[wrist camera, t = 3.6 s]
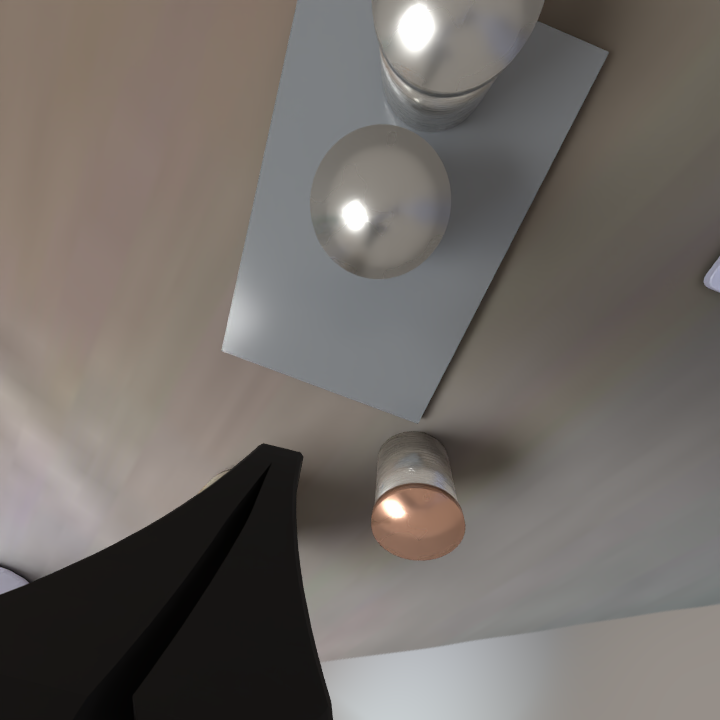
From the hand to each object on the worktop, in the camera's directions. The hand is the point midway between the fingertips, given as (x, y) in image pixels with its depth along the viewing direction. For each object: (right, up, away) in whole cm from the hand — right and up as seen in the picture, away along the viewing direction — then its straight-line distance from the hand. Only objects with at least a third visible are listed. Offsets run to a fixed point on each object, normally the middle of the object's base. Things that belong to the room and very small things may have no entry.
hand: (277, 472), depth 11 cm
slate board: (+4, +10, +6) cm, 12 cm away
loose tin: (+6, -3, +11) cm, 13 cm away
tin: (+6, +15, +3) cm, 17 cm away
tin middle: (+4, +10, +5) cm, 12 cm away
